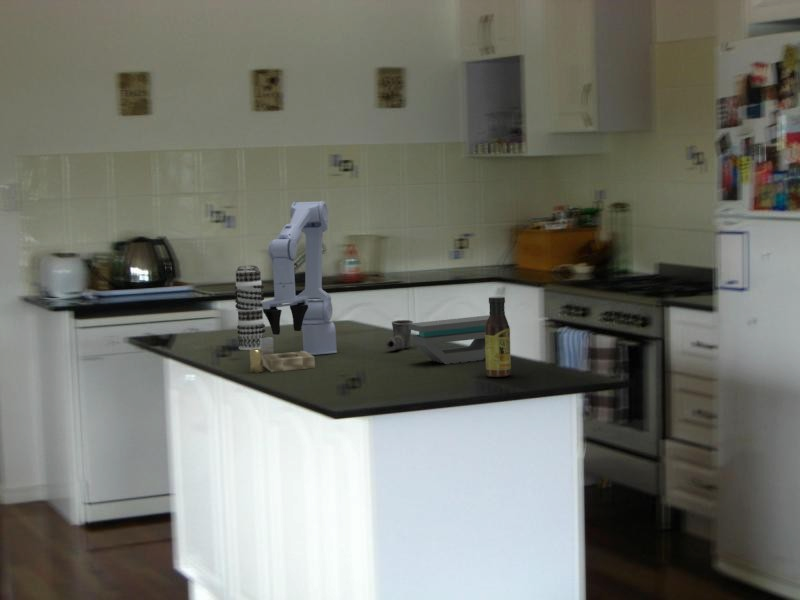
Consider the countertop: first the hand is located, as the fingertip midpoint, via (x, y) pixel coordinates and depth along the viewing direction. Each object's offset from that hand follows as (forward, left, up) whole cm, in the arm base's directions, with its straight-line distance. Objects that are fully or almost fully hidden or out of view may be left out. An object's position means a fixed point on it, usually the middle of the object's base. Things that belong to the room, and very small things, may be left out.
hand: (287, 332), depth 345 cm
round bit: (+10, +4, -9) cm, 14 cm away
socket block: (0, 0, -9) cm, 9 cm away
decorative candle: (+3, -42, -10) cm, 43 cm away
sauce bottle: (-45, +43, -10) cm, 63 cm away
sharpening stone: (-44, +14, -10) cm, 47 cm away
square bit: (+4, -10, -9) cm, 14 cm away
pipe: (-36, -14, -10) cm, 39 cm away
